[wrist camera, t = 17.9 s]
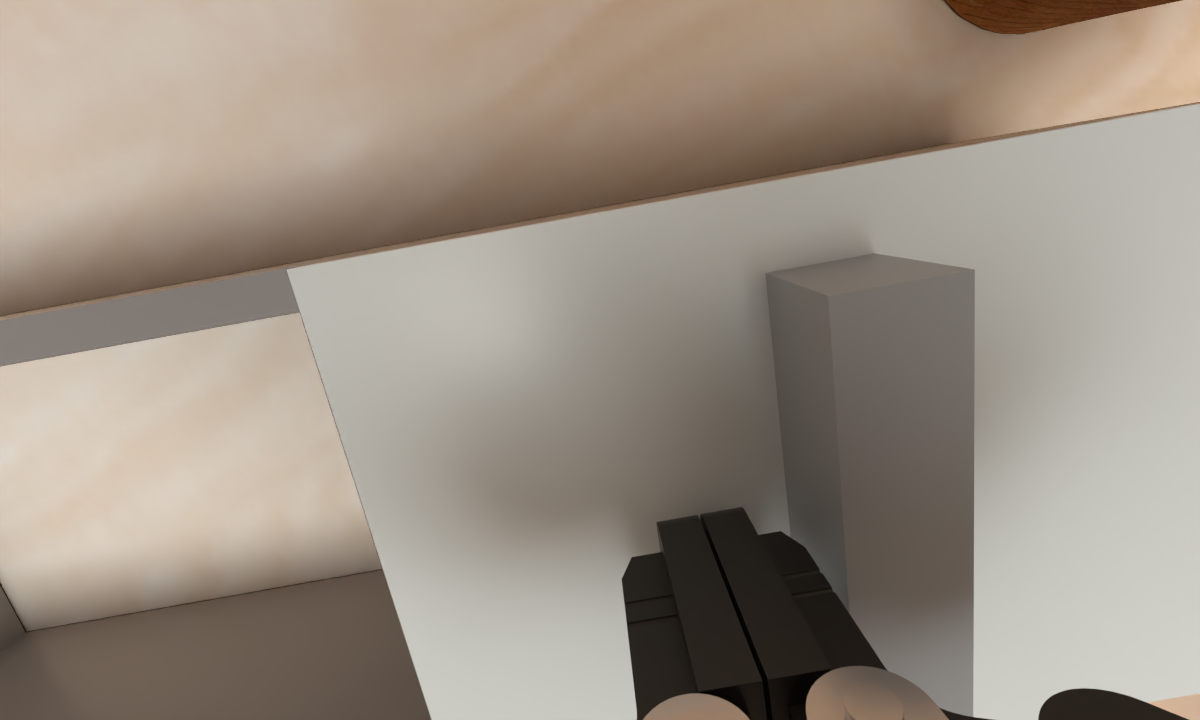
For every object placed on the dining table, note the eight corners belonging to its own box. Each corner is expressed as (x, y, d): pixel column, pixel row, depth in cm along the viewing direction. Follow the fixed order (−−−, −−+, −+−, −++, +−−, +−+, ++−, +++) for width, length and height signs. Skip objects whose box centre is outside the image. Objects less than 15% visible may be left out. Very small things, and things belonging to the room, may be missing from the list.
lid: (312, 263, 10) (184, 292, 7) (1282, 87, 10) (1630, 29, 6) (471, 777, 13) (436, 964, 10) (1204, 652, 13) (1413, 801, 10)
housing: (-158, 344, 17) (-677, 443, 10) (952, 143, 17) (1225, 97, 10) (13, 654, 21) (-291, 896, 13) (954, 489, 20) (1163, 646, 13)
